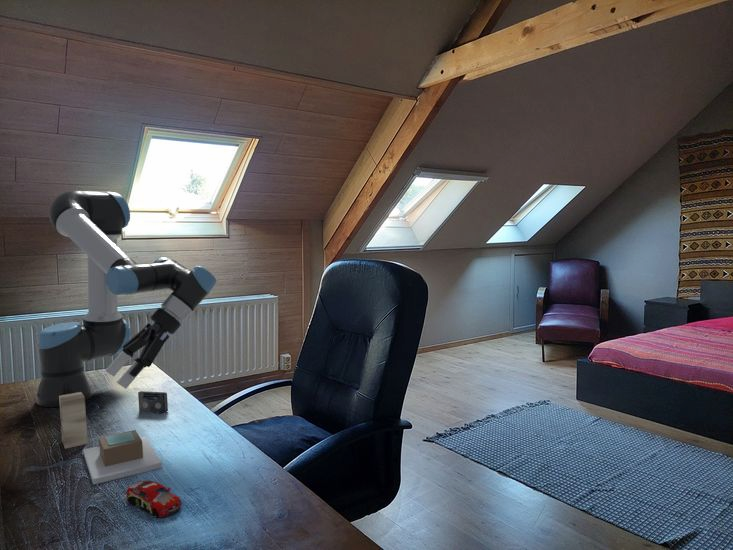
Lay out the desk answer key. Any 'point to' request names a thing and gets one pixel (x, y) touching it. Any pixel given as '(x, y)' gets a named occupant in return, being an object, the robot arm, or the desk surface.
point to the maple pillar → (73, 419)
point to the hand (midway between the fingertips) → (115, 379)
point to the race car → (153, 498)
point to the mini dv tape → (153, 402)
